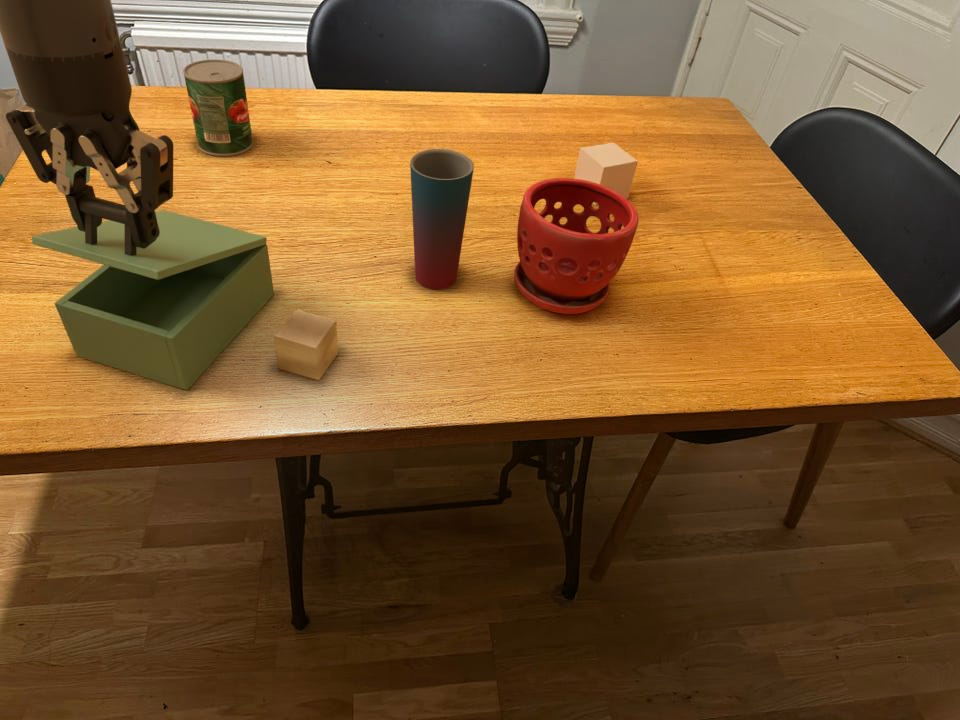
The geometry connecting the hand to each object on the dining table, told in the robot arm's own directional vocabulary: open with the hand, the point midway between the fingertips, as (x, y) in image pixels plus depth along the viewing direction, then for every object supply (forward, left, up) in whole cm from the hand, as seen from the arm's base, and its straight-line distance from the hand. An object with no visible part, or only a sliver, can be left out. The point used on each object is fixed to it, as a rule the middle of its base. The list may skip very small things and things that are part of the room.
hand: (119, 235), depth 62 cm
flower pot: (+28, -37, -14) cm, 48 cm away
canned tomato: (+42, +18, -14) cm, 47 cm away
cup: (+24, -22, -14) cm, 35 cm away
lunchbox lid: (+5, 0, -4) cm, 6 cm away
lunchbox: (+5, 0, -14) cm, 15 cm away
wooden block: (+5, -15, -14) cm, 21 cm away
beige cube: (+54, -37, -14) cm, 67 cm away
